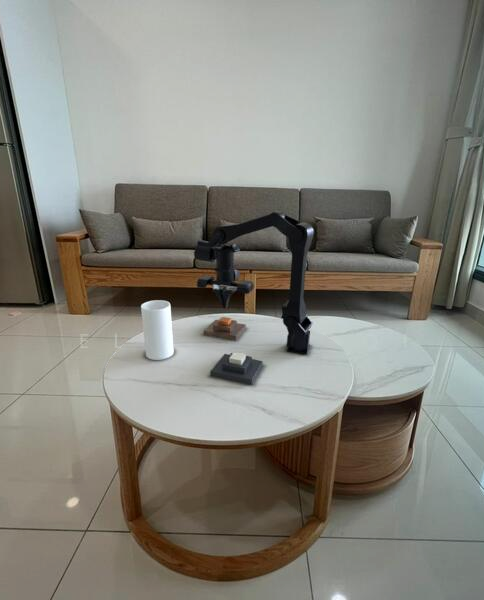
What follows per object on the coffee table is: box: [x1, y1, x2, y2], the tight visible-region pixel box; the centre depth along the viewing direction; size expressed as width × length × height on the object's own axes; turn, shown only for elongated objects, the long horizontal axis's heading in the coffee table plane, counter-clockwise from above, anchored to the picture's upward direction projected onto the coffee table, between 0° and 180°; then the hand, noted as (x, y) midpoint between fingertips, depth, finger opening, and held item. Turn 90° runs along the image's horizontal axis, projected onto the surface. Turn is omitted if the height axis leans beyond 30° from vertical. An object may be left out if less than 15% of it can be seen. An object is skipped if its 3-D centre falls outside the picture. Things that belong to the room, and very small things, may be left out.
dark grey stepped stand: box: [210, 352, 264, 386], centre depth 91 cm, size 12×10×4 cm
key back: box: [218, 316, 233, 326], centre depth 113 cm, size 4×4×2 cm
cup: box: [140, 299, 175, 361], centre depth 97 cm, size 8×8×16 cm
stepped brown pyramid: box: [203, 317, 247, 341], centre depth 114 cm, size 12×10×4 cm
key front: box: [229, 351, 247, 365], centre depth 90 cm, size 4×4×2 cm
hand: (225, 307), depth 111 cm, fingers closed
